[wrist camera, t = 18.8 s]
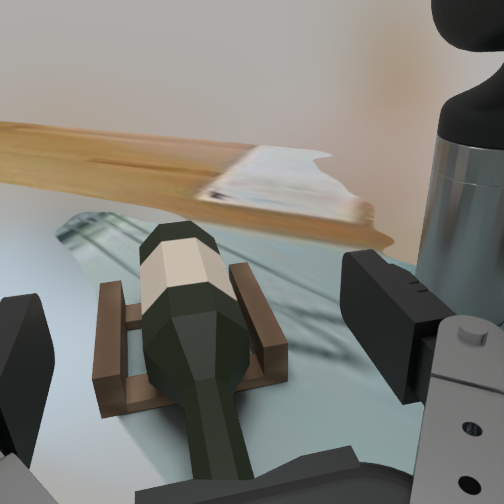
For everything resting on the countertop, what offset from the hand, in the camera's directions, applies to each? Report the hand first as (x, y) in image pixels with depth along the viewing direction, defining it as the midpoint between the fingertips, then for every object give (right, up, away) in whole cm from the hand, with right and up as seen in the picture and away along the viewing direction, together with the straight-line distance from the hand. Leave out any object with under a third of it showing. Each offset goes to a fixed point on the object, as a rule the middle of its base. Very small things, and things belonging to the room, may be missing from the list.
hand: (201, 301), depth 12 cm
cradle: (-4, -8, +30) cm, 31 cm away
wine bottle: (-6, +1, +37) cm, 37 cm away
